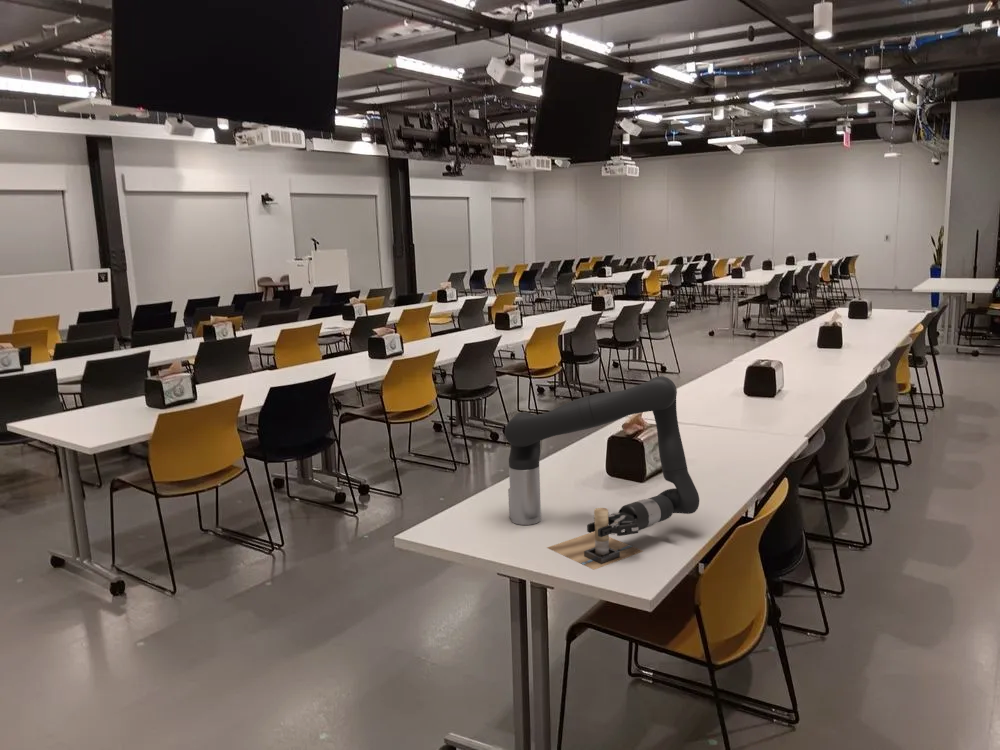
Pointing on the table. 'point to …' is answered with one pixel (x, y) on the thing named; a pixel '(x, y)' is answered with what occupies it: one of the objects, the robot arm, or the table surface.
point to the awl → (600, 522)
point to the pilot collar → (611, 556)
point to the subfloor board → (585, 542)
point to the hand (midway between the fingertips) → (593, 530)
